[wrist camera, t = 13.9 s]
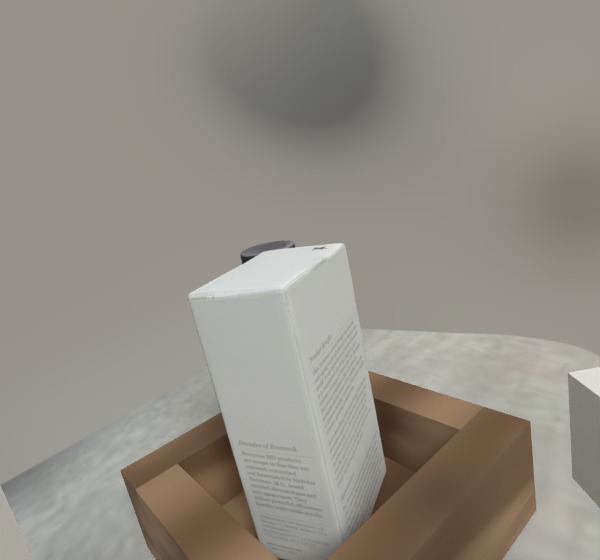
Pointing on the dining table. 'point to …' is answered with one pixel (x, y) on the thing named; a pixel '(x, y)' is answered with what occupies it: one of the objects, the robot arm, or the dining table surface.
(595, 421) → the robot arm
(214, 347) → the skincare box
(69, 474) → the dining table surface
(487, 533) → the walnut tray
